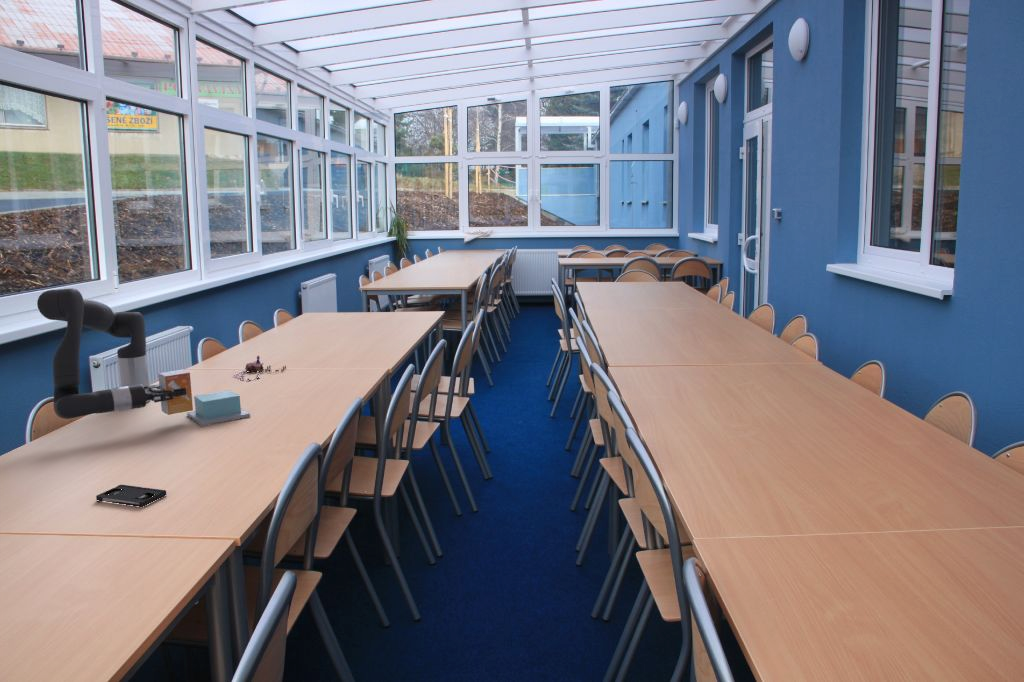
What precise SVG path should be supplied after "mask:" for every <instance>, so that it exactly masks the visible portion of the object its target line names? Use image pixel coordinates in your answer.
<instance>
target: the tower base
mask: <svg viewBox="0 0 1024 682" xmlns="http://www.w3.org/2000/svg"><path fill="white" fill-rule="evenodd" d="M240 398H241V397H240V395H239V394H238V393H236V392H234V391H233V390H229V389H228V390H222V391H216V392H211V393H205V394H198V395H197V394H196V395H194V396H193V399H194V409H195V410H193V411H187V412H186V415H188V416H189V418H190V419H191V418H192V419H191V420H193V421H194V422H195V421H196V422H195V423H197V424H198V425H199V424H200V425H199V426H200V427H203V425H205V426H209V425H208V424H210V425H214V424H213V423H215V424H219V423H218V422H221V423H224V422H223V421H226V422H230V421H229V420H231V421H236V420H235V419H237V420H241V419H240V418H242V419H246V418H245V417H247V418H251V413H250V412H249V411H247V410H245V409H243V408H241V399H240ZM188 416H187V417H188Z"/></svg>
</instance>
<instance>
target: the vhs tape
mask: <svg viewBox="0 0 1024 682" xmlns="http://www.w3.org/2000/svg"><path fill="white" fill-rule="evenodd" d="M121 489H122V490H121ZM147 493H151V494H149V495H148V494H147ZM108 494H109V495H108ZM154 494H155V495H154ZM165 495H167V490H165V489H159V488H151V487H150V488H149V487H143V486H136V485H128V484H119V485H117V486H116V487H113V488H111V489H108V490H105V491H104V492H101V493H99V494H97V495H96V496H95V498H96V499H95V500H96V501H97V500H99V501H106V502H112V503H119V504H126V505H133V506H139V507H143V506H145V505H147V504H149V503H151V502H153V501H155V500H157V499H159V498H161V497H164V496H165ZM152 496H153V497H152ZM164 498H165V497H164ZM161 499H162V498H161Z"/></svg>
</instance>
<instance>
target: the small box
mask: <svg viewBox="0 0 1024 682" xmlns="http://www.w3.org/2000/svg"><path fill="white" fill-rule="evenodd" d="M157 374H158V375H157V376H158V383H159V384H158V385H159V386H160V389H166V391H167V390H175V389H181V388H185V389H186V395H182V396H176V397H174V399H172V400H166V401H160V407H161V411H162V412H163V413H164V414H166V415H168V416H169V415H170V416H171V415H175V414H179V413H180V414H181V413H187V412H192V411H194V408H193V407H194V405H193V395H192V392H193V391H192V381H191V372H189V371H188V370H185V369H177V370H171V371H164V372H159V373H157ZM166 396H169V394H166Z"/></svg>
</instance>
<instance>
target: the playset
mask: <svg viewBox="0 0 1024 682" xmlns="http://www.w3.org/2000/svg"><path fill="white" fill-rule="evenodd" d="M260 359H261V357H260V355H257V356H256V360H254V361H253V362H248V363H246V364H245V367H244V369H245V370H243V371H241V372H240V373H241V374H240V373H237V374H234V375H233V377H234V376H235V375H238V374H240V375H246V373H245V372H247V371H249V373H251V372H255V373H257V371H260V373H261V372H262V373H263V371H264V372H267V371H268V373H269V372H270V373H271V365H269V366H268V365H267V367H266V368H264V366H263V365H264V362H262V363H261V361H260ZM269 368H270V369H269ZM285 368H286V369H287V366H286V365H285V366H284V365H283V366H282V368H280V369H281V370H280V371H279V370H278V369H277V370H275V371H274V372H275V373H276V372H284V371H285V370H286V369H285ZM242 373H243V374H242ZM257 375H259V373H257ZM238 376H239V375H238ZM255 377H256V378H257V377H258V376H255ZM256 378H255V379H256ZM258 378H259V377H258ZM240 379H243V380H244V376H241V378H240ZM259 379H260V378H259ZM248 380H250V379H249V378H247V380H246V381H248Z"/></svg>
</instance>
